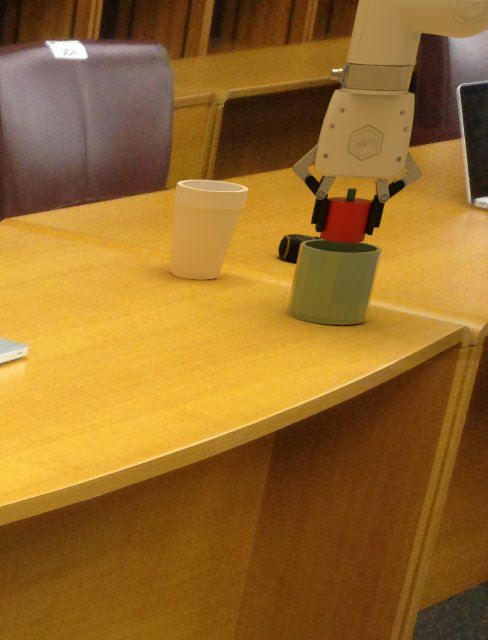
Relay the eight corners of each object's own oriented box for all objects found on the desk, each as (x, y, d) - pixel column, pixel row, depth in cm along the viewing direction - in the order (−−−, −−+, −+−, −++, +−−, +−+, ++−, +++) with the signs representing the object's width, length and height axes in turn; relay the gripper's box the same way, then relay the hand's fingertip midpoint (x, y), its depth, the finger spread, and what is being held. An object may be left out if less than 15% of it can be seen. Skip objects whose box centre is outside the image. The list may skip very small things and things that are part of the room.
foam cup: (145, 273, 222) (163, 181, 216) (196, 269, 225) (215, 178, 219) (189, 288, 214) (209, 193, 208) (241, 284, 217) (263, 190, 211)
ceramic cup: (381, 323, 196) (397, 251, 192) (315, 326, 194) (330, 254, 190) (336, 306, 204) (351, 238, 200) (272, 309, 203) (286, 240, 199)
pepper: (372, 242, 194) (384, 190, 192) (346, 245, 192) (358, 193, 189) (336, 235, 198) (347, 184, 196) (310, 239, 196) (321, 187, 193)
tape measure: (330, 269, 227) (336, 243, 225) (282, 266, 228) (288, 241, 226) (317, 259, 233) (323, 234, 231) (270, 256, 234) (276, 231, 232)
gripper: (302, 80, 186) (272, 232, 194) (458, 85, 181) (420, 241, 189) (298, 75, 192) (269, 223, 200) (449, 79, 187) (413, 231, 195)
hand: (343, 230), depth 195 cm, fingers closed on pepper, 5 cm apart
